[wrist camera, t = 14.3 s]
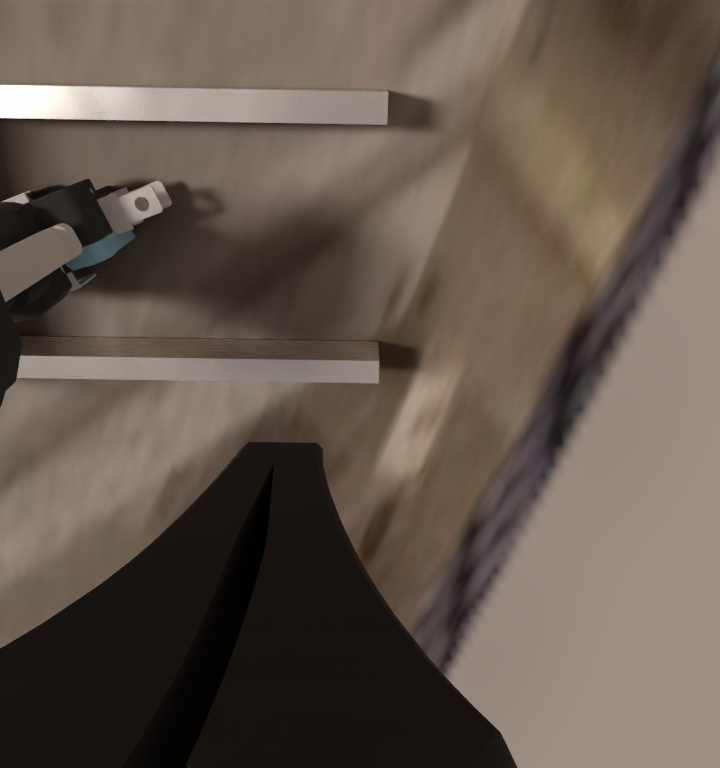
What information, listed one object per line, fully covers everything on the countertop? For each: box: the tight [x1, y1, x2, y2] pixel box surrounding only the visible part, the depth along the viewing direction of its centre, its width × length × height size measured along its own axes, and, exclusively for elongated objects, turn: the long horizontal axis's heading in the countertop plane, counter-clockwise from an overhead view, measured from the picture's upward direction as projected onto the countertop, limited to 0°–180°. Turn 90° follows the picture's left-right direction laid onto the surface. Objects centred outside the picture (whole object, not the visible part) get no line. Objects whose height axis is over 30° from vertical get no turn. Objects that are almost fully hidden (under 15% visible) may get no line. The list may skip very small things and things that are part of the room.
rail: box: [0, 83, 388, 383], centre depth 17 cm, size 9×16×5 cm, turn 89°
